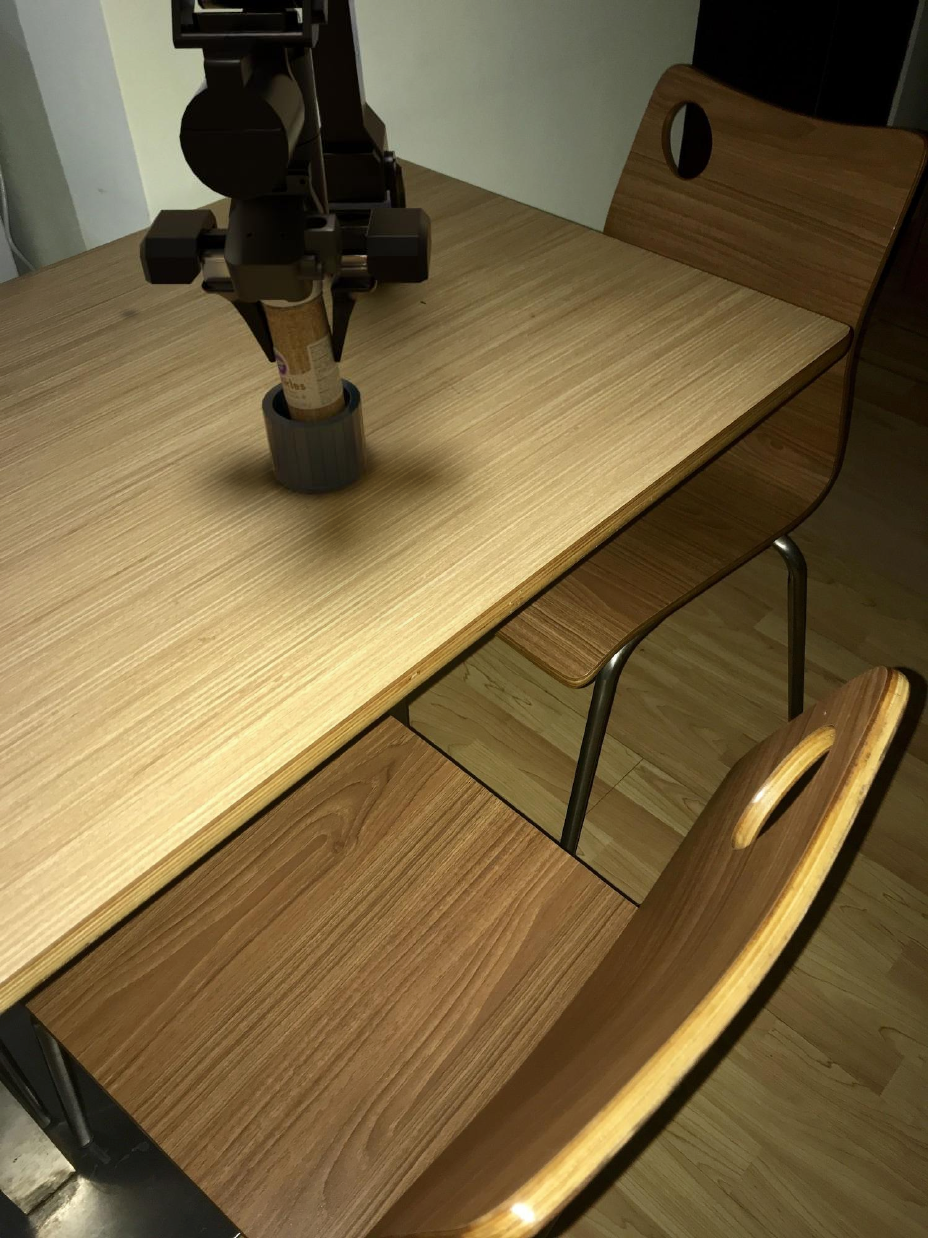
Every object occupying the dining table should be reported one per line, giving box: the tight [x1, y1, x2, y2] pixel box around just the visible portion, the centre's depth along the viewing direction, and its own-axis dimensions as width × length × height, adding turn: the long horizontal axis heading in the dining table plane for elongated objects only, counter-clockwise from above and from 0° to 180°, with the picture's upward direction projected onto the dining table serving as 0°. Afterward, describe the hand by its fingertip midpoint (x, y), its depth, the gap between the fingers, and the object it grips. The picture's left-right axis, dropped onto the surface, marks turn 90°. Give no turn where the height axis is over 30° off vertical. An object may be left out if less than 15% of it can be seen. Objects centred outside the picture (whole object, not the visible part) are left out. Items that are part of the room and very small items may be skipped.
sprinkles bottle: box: [260, 280, 346, 422], centre depth 72 cm, size 5×5×14 cm
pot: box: [261, 377, 368, 495], centre depth 76 cm, size 7×7×6 cm
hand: (305, 359), depth 72 cm, fingers closed on sprinkles bottle, 4 cm apart
